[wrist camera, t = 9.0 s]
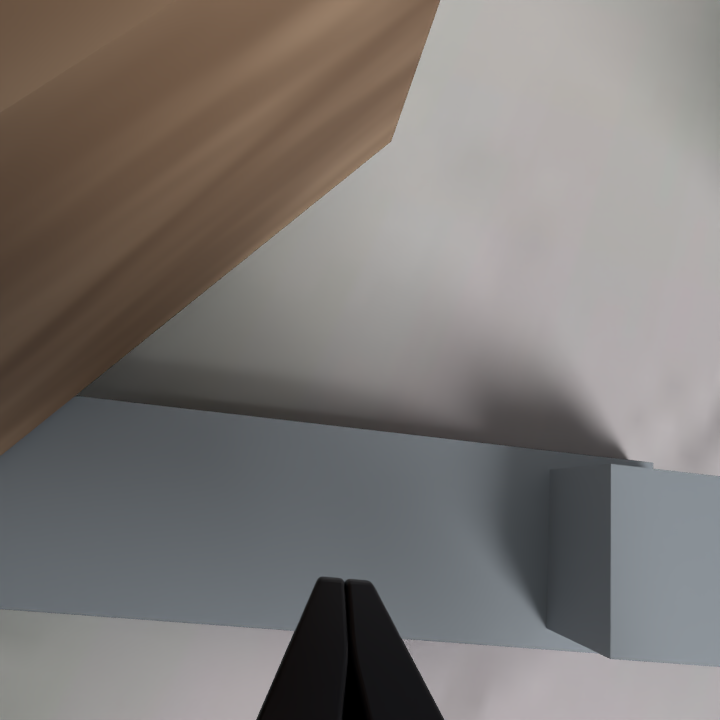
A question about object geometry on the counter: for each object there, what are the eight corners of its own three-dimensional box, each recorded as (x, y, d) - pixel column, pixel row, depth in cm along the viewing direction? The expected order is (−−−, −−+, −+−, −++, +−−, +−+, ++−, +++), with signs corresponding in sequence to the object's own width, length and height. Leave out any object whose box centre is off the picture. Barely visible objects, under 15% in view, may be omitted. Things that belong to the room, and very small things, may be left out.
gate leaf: (395, 146, 17) (526, -208, 9) (-90, 539, 13) (-753, 622, 5) (357, 106, 17) (447, -283, 9) (-137, 486, 13) (-870, 469, 5)
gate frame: (633, 648, 17) (743, 693, 13) (-284, 578, 14) (-494, 610, 10) (632, 464, 18) (733, 455, 14) (-215, 367, 15) (-381, 323, 11)
